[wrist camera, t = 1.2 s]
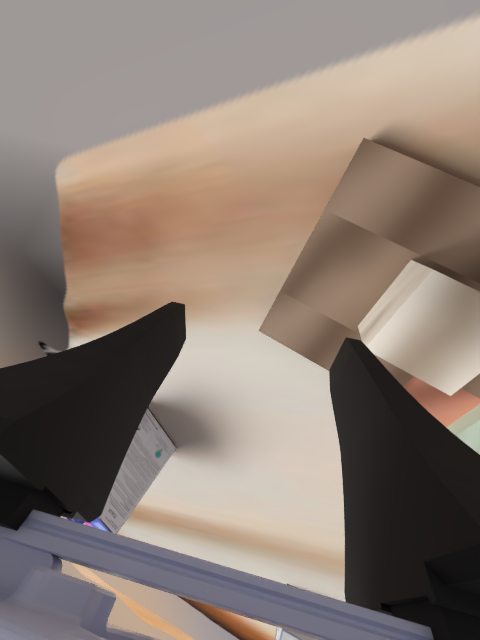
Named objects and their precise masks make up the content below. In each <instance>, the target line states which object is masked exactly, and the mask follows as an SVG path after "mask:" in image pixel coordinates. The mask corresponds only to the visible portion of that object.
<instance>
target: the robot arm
mask: <svg viewBox="0 0 480 640" xmlns="http://www.w3.org/2000/svg"><path fill="white" fill-rule="evenodd" d="M185 340H186V325H185V304H181V303H176V302H171V303H168V304H167V305H165V306H163V307H161V308H159V309H157V310H155V311H154V312H152V313H150V314H148V315H146V316H144V317H142V318H141V319H139V320H137V321H135V322H133V323H131V324H129V325H127V326H125V327H123V328H121V329H119V330H116V331H114V332H112V333H110V334H108V335H106V336H103V337H101V338H98V339H96V340H93V341H91V342H88V343H86V344H83V345H80V346H77V347H74V348H71V349H68V350H65V351H62V352H59V353H56V354H53V355H50V356H46V357H43V358H39V359H36V360H32V361H29V362H25V363H21V364H17V365H13V366H9V367H5V368H0V640H159V639H156V638H152V637H149V636H146V635H143V634H140V633H137V632H134V631H130V630H127V629H124V628H121V627H118V626H114V625H111V624H108V623H107V621H108V617H109V615H110V612H111V610H112V607H113V605H114V602H115V600H116V595H115V594H114V593H112V592H109V591H107V590H104V589H102V588H100V587H97V586H96V585H95V584H92V583H89V582H86V581H83V580H80V579H77V578H74V577H72V576H69V575H66V574H63V573H61V570H62V561H61V559H63V560H66V561H69V562H72V563H76V564H79V565H82V566H85V567H88V568H92V569H95V570H98V571H101V572H104V573H107V574H111V575H114V576H117V577H121V578H123V579H127V580H130V581H133V582H136V583H140V584H142V585H146V586H149V587H152V588H155V589H159V590H162V591H165V592H168V593H172V594H174V595H178V596H181V597H184V598H187V599H190V600H193V601H197V602H200V603H203V604H206V605H209V606H213V607H216V608H219V609H222V610H225V611H229V612H232V613H235V614H238V615H241V616H244V617H248V618H251V619H254V620H257V621H260V622H264V623H267V624H270V625H273V626H276V627H280V628H283V629H286V630H289V631H292V632H295V633H299V634H302V635H305V636H308V637H311V638H315V639H318V640H480V455H479V454H478V453H477V452H476V451H474V450H473V449H472V448H471V447H469V446H468V445H467V444H465V443H464V442H463V441H462V440H461V439H459V438H458V437H457V436H456V435H455V434H453V433H452V432H451V431H450V430H449V429H447V428H446V427H445V426H444V425H443V424H442V423H441V422H440V421H438V420H437V419H436V418H435V417H434V416H433V415H432V414H431V413H429V412H428V411H427V410H426V409H425V408H424V407H423V406H422V405H421V404H420V403H419V402H418V401H417V400H416V399H415V398H414V397H413V396H412V395H411V394H410V393H409V392H408V391H407V390H406V389H405V388H404V387H403V386H402V385H401V384H400V383H399V382H398V381H397V380H396V379H395V378H394V376H393V375H392V374H391V373H390V372H389V371H388V370H387V369H386V368H385V366H384V365H383V364H382V363H381V362H380V361H379V360H378V359H377V357H376V356H375V355H374V354H373V353H372V352H371V351H370V350H369V348H368V347H367V346H366V345H365V344H364V343H363V342H362V341H361V340H358V339H353V338H348V337H346V338H345V340H344V342H343V344H342V346H341V348H340V350H339V352H338V354H337V356H336V358H335V360H334V362H333V363H332V365H331V367H330V369H329V371H330V392H331V398H332V404H333V410H334V415H335V421H336V426H337V432H338V437H339V444H340V451H341V463H342V476H343V494H344V520H345V599H346V602H343V601H340V600H336V599H333V598H330V597H326V596H323V595H319V594H316V593H313V592H309V591H306V590H303V589H299V588H296V587H293V586H289V585H286V584H282V583H279V582H276V581H272V580H269V579H266V578H262V577H259V576H256V575H252V574H249V573H246V572H242V571H239V570H235V569H232V568H229V567H225V566H222V565H219V564H215V563H212V562H209V561H205V560H202V559H198V558H195V557H192V556H188V555H185V554H182V553H178V552H175V551H172V550H168V549H165V548H161V547H158V546H155V545H151V544H148V543H145V542H141V541H138V540H135V539H131V538H128V537H124V536H121V535H118V534H114V533H111V532H108V531H104V530H101V529H98V528H94V527H91V526H88V525H84V524H81V523H77V522H74V521H71V520H67V519H64V518H61V517H60V516H63V517H66V518H70V519H72V518H73V519H77V520H80V521H84V522H87V523H90V522H92V521H94V520H95V519H97V518H98V517H99V516H101V515H102V512H103V510H104V507H105V504H106V502H107V499H108V497H109V494H110V492H111V489H112V487H113V484H114V482H115V479H116V477H117V474H118V472H119V470H120V467H121V465H122V463H123V460H124V458H125V456H126V453H127V451H128V449H129V446H130V444H131V442H132V440H133V438H134V435H135V433H136V431H137V429H138V427H139V425H140V423H141V420H142V418H143V416H144V414H145V412H146V410H147V408H148V406H149V404H150V402H151V400H152V399H153V397H154V395H155V394H156V392H157V390H158V389H159V387H160V385H161V384H162V382H163V381H164V379H165V377H166V376H167V374H168V372H169V371H170V369H171V367H172V366H173V364H174V363H175V361H176V359H177V357H178V356H179V353H180V351H181V349H182V347H183V344H184V342H185ZM59 558H60V559H59Z"/></svg>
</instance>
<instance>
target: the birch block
mask: <svg viewBox="0 0 480 640" xmlns="http://www.w3.org/2000/svg"><path fill="white" fill-rule="evenodd" d="M358 329H359V332H360V336H361V339H362V342H363V343H364V344H365V345H366V346H367V347H368V348H369V350H370V351H371V352H372V353H373V354H374V355H376V356H378V357H380V358H382V359H384V360H385V361H387V362H389V363H391V364H393V365H395V366H396V367H398V368H400V369H402V370H404V371H406V372H407V373H409V374H411V375H413V376H415V377H417V378H418V379H420V380H422V381H424V382H426V383H428V384H429V385H431V386H433V387H435V388H437V389H439V390H440V391H442V392H444V393H446V394H448V395H450V396H451V395H453V394H454V393H455V392H457V391H458V390H459V389H460V388H462V387H463V386H464V385H466V384H467V383H468V382H469V381H471V380H472V379H473V378H475V377H476V376H477V375H478V374H480V292H479V291H477V290H475V289H473V288H471V287H469V286H466V285H464V284H462V283H460V282H458V281H456V280H454V279H452V278H450V277H448V276H446V275H444V274H441V273H439V272H437V271H435V270H433V269H431V268H429V267H426V266H424V265H422V264H419V263H417V262H415V261H413V260H410V262H409V263H408V264H407V265H406V267H405V268H404V269H403V270H402V272H401V273H400V274H399V275H398V277H397V278H396V279H395V280H394V281H393V283H392V284H391V285H390V286H389V288H388V289H387V290H386V291H385V293H384V294H383V295H382V296H381V298H380V299H379V300H378V301H377V303H376V304H375V305H374V306H373V308H372V309H371V310H370V311H369V313H368V314H367V315H366V316H365V318H364V319H363V320H362V321H361V323H360V324H359V325H358Z"/></svg>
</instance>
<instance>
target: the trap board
mask: <svg viewBox="0 0 480 640" xmlns="http://www.w3.org/2000/svg"><path fill="white" fill-rule="evenodd" d="M410 260H413V261H415V262H417V263H419V264H422V265H424V266H426V267H429V268H431V269H433V270H435V271H437V272H439V273H441V274H444V275H446V276H448V277H450V278H452V279H454V280H456V281H458V282H460V283H462V284H464V285H466V286H469V287H471V288H473V289H475V290H477V291H479V292H480V187H479V186H476V185H474V184H472V183H469V182H467V181H465V180H462V179H460V178H457V177H455V176H453V175H450V174H448V173H446V172H443V171H441V170H439V169H436V168H434V167H431V166H429V165H427V164H424V163H422V162H420V161H417V160H415V159H412V158H410V157H408V156H405V155H403V154H401V153H398V152H396V151H394V150H391V149H389V148H386V147H384V146H382V145H379V144H377V143H375V142H372V141H370V140H368V139H365V138H363V140H362V142H361V144H360V146H359V148H358V149H357V151H356V153H355V155H354V157H353V159H352V160H351V162H350V164H349V166H348V168H347V170H346V171H345V173H344V175H343V177H342V179H341V181H340V182H339V184H338V186H337V188H336V190H335V192H334V193H333V195H332V197H331V199H330V201H329V203H328V204H327V206H326V208H325V210H324V212H323V214H322V215H321V217H320V219H319V221H318V223H317V225H316V226H315V228H314V230H313V232H312V234H311V236H310V237H309V239H308V241H307V243H306V245H305V247H304V248H303V250H302V252H301V254H300V256H299V258H298V259H297V261H296V263H295V265H294V267H293V269H292V270H291V272H290V274H289V276H288V278H287V279H286V281H285V283H284V285H283V287H282V289H281V290H280V292H279V294H278V296H277V298H276V300H275V301H274V303H273V305H272V307H271V309H270V311H269V312H268V314H267V316H266V318H265V320H264V322H263V323H262V325H261V327H260V329H259V331H260V332H262V333H264V334H265V335H267V336H269V337H271V338H272V339H274V340H276V341H278V342H279V343H281V344H283V345H285V346H286V347H288V348H290V349H292V350H293V351H295V352H297V353H299V354H300V355H302V356H304V357H306V358H307V359H309V360H311V361H313V362H314V363H316V364H318V365H320V366H321V367H323V368H325V369H327V370H328V371H329V369H330V367H331V365H332V363H333V362H334V360H335V358H336V356H337V354H338V352H339V350H340V348H341V346H342V344H343V342H344V340H345V338H346V337H348V338H353V339H358V340H361V341H362V339H361V336H360V332H359V329H358V325H359V324H360V323H361V321H362V320H363V319H364V318H365V316H366V315H367V314H368V313H369V311H370V310H371V309H372V308H373V306H374V305H375V304H376V303H377V301H378V300H379V299H380V298H381V296H382V295H383V294H384V293H385V291H386V290H387V289H388V288H389V286H390V285H391V284H392V283H393V281H394V280H395V279H396V278H397V277H398V275H399V274H400V273H401V272H402V270H403V269H404V268H405V267H406V265H407V264H408V263H409V262H410ZM375 356H376V355H375ZM376 357H377V359H378V360H379V361H380V362H381V363H382V364H383V365H384V366H385V368H386V369H387V370H388V371H389V372H390V373H391V374H392V375H393V376H394V378H395V379H396V380H397V381H398V382H399V383H400V384H401V385H402V386H403V387H404V388H405V389H406V390H407V391H408V392H409V393H410V394H411V395H412V396H413V397H414V398H415V399H416V400H417V401H418V402H419V403H420V404H421V405H422V406H423V407H424V408H425V409H426V410H427V411H428V412H429V413H431V414H432V415H433V416H434V417H435V418H436V419H437V420H438V421H440V422H441V423H442V424H443V425H444V426H445V427H446V428H447V429H449V430H450V431H451V432H452V433H453V434H455V435H456V436H457V437H458V438H459V439H461V440H462V441H463V442H464V443H465V444H467V445H468V446H469V447H471V448H472V449H473V450H474V451H476V452H477V453H478V454H479V455H480V374H478V375H477V376H476V377H475V378H473V379H472V380H471V381H469V382H468V383H467V384H466V385H464V386H463V387H462V388H460V389H459V390H458V391H457V392H455V393H454V394H453V395H451V396H450V395H448V394H446V393H444V392H442V391H440V390H439V389H437V388H435V387H433V386H431V385H429V384H428V383H426V382H424V381H422V380H420V379H418V378H417V377H415V376H413V375H411V374H409V373H407V372H406V371H404V370H402V369H400V368H398V367H396V366H395V365H393V364H391V363H389V362H387V361H385V360H384V359H382V358H380V357H378V356H376Z"/></svg>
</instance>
